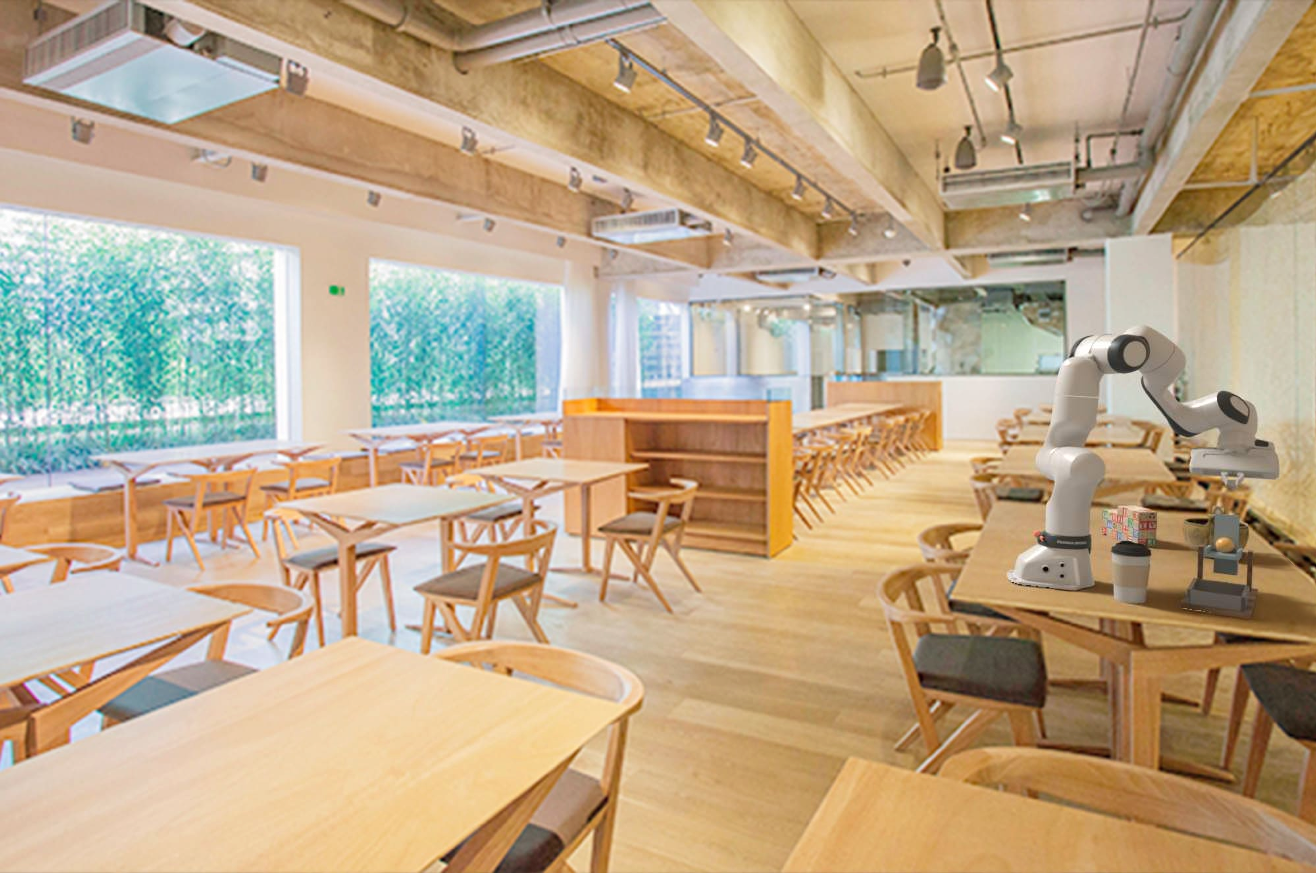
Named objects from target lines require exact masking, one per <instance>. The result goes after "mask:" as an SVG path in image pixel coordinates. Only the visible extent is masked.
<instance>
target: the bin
mask: <svg viewBox="0 0 1316 873" xmlns="http://www.w3.org/2000/svg"><path fill="white" fill-rule="evenodd" d="M1186 593H1187V600H1186V603H1187V604H1194V605H1200V606H1207V607H1214V608H1220V609H1227V610H1234V611H1240V612H1245V610H1246V606H1247V603H1248V600H1249V585H1247V584H1243V583H1234V582H1226V581H1218V580H1212V579H1204V578H1203V579H1197V578H1196V577H1193V579H1192V581H1191V582H1190V583H1189V585H1188V586H1187V589H1186Z"/></svg>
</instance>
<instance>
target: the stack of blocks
mask: <svg viewBox="0 0 1316 873" xmlns="http://www.w3.org/2000/svg"><path fill="white" fill-rule="evenodd" d="M1101 511H1102V512H1101V514H1102V529H1101V531H1102V533H1104V534H1106V535H1109V536H1111V537H1115V538H1116V539H1115V540H1117V539H1120V540H1121V541H1132V542H1134V543H1139V544H1144V545H1146V546H1147V548H1151V547H1150V546H1156V547H1157V545H1156V544H1157V528H1158V524H1157V523H1158V511H1155V510H1152V509H1150V508H1147V507H1142V506H1139V505H1135V504H1134V505H1133V504H1130V505H1117V508H1115V509H1114V508H1113V509H1102V510H1101ZM1102 533H1101V534H1102ZM1104 534H1103V535H1104ZM1106 535H1105V536H1106ZM1109 536H1108V537H1109ZM1111 537H1110V538H1111ZM1121 541H1120V542H1121Z"/></svg>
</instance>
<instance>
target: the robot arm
mask: <svg viewBox="0 0 1316 873" xmlns="http://www.w3.org/2000/svg"><path fill="white" fill-rule="evenodd" d="M1186 365H1187V359H1186V355H1185V353H1184V351H1183V350H1182V349H1181V348H1180V347H1179V346H1178V345H1176V344H1175V343H1174V342H1173V341H1172V340H1171V339H1169V338H1168V337H1167V336H1165V335H1163V334H1162V333H1161V332H1159V331H1158V330H1156V329H1154V328H1152V327H1151V326H1148V325H1146V324H1145V325H1144V324H1136V325H1134V326H1131V327H1129V328H1128V329H1126V330H1125V331H1124V332H1123V333H1122V334H1116V333H1115V334H1112V333H1102V334H1096V335H1093V334H1091V335H1087V336H1084V337H1081V338H1079V339H1077V340H1076V341H1075V342H1074V344H1073V345H1072V347H1071V350H1070V352H1069V356H1068V358H1067V359H1065V360H1064V361H1062V363H1061V365H1060V368H1059V371H1058V373H1057V377H1056V382H1055V386H1054V395H1053V401H1052V412H1051V419H1050V424H1049V427H1048V429H1047V430H1048V431H1047V434H1046V436H1045V439H1044V442H1043V445H1042V447H1041V448H1040V449H1039V450H1038V452H1037V453H1036V455H1035V466H1036V468H1037V470H1038V472H1039V473H1041V475H1043V476H1044V477H1045V478H1047V479H1048V480H1051V481H1053V482H1054V485H1053V489H1052V492H1051V496H1050V498H1049V500H1048V501H1047V503H1046V506H1045V527H1044V528H1045V530H1044V531H1040V530H1038V529H1037V530H1034V532H1033V536H1034V537H1035V538H1036V542H1037V544H1035V545H1033V546H1031V547H1029V548H1028V549H1026V550H1025V551H1023V552H1022V553H1020V554H1019V555H1017V556H1018V557H1017V558H1016V561H1015V566H1014V569H1010V570H1008V571H1007V572H1006V578H1008V579H1009V580H1011V581H1010V582H1011V583H1012V582H1014V583H1013V584H1015V583H1017V584H1016V585H1018V584H1022V585H1021V586H1026V585H1031V586H1030V587H1036V586H1038V588H1046V587H1049V589H1058V590H1065V591H1067V590H1068V591H1079V590H1081V589H1085V588H1091V587H1093V586H1095V585H1096V582H1095V580H1094V577H1093V572H1092V571H1093V570H1092V565H1091V563H1092V562H1091V551H1092V544H1093V542H1092V535H1091V533H1090V530H1091V529H1090V526H1091V523H1090V522H1091V506H1092V502H1093V498H1094V495H1095V492H1096V489H1097V486H1098V485H1099V483H1101V482H1102V480H1103V479H1104V477H1105V476H1106V475H1105V474H1106V471H1107V470H1106V469H1107V468H1106V464H1105V461H1104V460H1103V459H1102V457H1101V456H1100V455H1098V454H1097V453H1096V452H1094V451H1092V450H1091V449H1088V448H1086V447H1085V445H1086V442H1087V439H1088V438H1089V435H1090V434H1091V432H1092V431H1093V430H1094V429H1095V427H1096V424H1097V417H1098V407H1099V397H1100V387H1101V386H1100V384H1101V383H1100V382H1101V380H1102V378H1103V377H1104V375H1114V374H1115V375H1116V374H1117V375H1118V374H1123V375H1124V374H1131V373H1133V372H1137V371H1139V373H1140V374H1141V378H1140V384H1141V387H1142V389H1143V391H1144V392H1145V394H1146V396H1147V397H1149V399H1150V401H1151V402H1152V403H1153V404H1154V405H1155V407H1156V408H1157V409H1158V410H1159V411H1160V413H1161V414H1162V415H1163V417H1164V418H1165V419H1166V421H1167V423H1168V425H1169V427H1170V429H1171V430H1172V431H1173V432H1174V433H1176V434H1177V435H1179V436H1181V437H1185V438H1193V437H1194V436H1195V437H1196V436H1198V435H1200V434H1202V433H1204V432H1208V431H1212V430H1214V429H1217V430H1218V431H1219V435H1218V437H1217V440H1216V441H1217V442H1216V447H1215V446H1214V447H1211V446H1209V447H1207V446H1204V447H1203V446H1198V447H1196V448H1192V449H1191V451H1190V453H1189V454H1190V455H1189V456H1190V462H1189V473H1190V474H1192V476H1207V477H1220V478H1221V480H1222V482H1223V483H1224V488H1225V489H1237V490H1238V489H1239V485H1240V484H1241V483H1242V482H1243V481H1244V480H1245V479H1258V480H1259V479H1260V480H1277V479H1278V478H1280V460H1279V456H1278V454H1277V452H1276V447H1275V446H1276V445H1275V443H1274V442H1272V441H1268V440H1264V439H1259V438H1256V434H1257V432H1258V423H1259V422H1258V420H1259V419H1258V412H1257V409H1256V407H1255V405H1254V404H1253V403H1252V402H1251V401H1249V400H1246V399H1243V398H1241V397H1240V396H1239V395H1237V394H1235V393H1233V392H1231V391H1227V390H1220V391H1216V392H1214V393H1210V394H1207V395H1206V396H1203V397H1200V398H1197V399H1194V400H1190V401H1185V402H1182V401H1180V402H1179V400H1177V399H1176V397H1175V396H1174V395H1173V394H1172V392H1171V391H1170V390H1169V389H1168V388H1169V387H1171V385H1173V384H1174V383H1175V382H1177V380H1178V379H1179V378H1181V376H1182V375H1183V373H1184V371H1185V369H1186ZM1229 478H1236V479H1235V480H1234V479H1229ZM1008 579H1007V580H1008ZM1009 580H1008V581H1009Z"/></svg>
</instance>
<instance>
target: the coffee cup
mask: <svg viewBox="0 0 1316 873" xmlns="http://www.w3.org/2000/svg"><path fill="white" fill-rule="evenodd" d="M1110 549H1111V550H1110V552H1111V572H1112V573H1111V574H1112V583H1113V597H1114V599H1116V601H1118V602H1120V601H1122V603H1125V604H1133V603H1135V604H1136V605H1138V603H1140V604H1144V603H1146V596H1147V588H1148V586H1149V576H1150V569H1151V556H1152V550H1151V549H1149V547H1147V546H1146V545H1144V544H1139V543H1134V542H1132V541H1119V542H1116V543H1115V545H1113V546H1112V547H1111V548H1110ZM1135 604H1134V605H1135Z"/></svg>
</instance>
